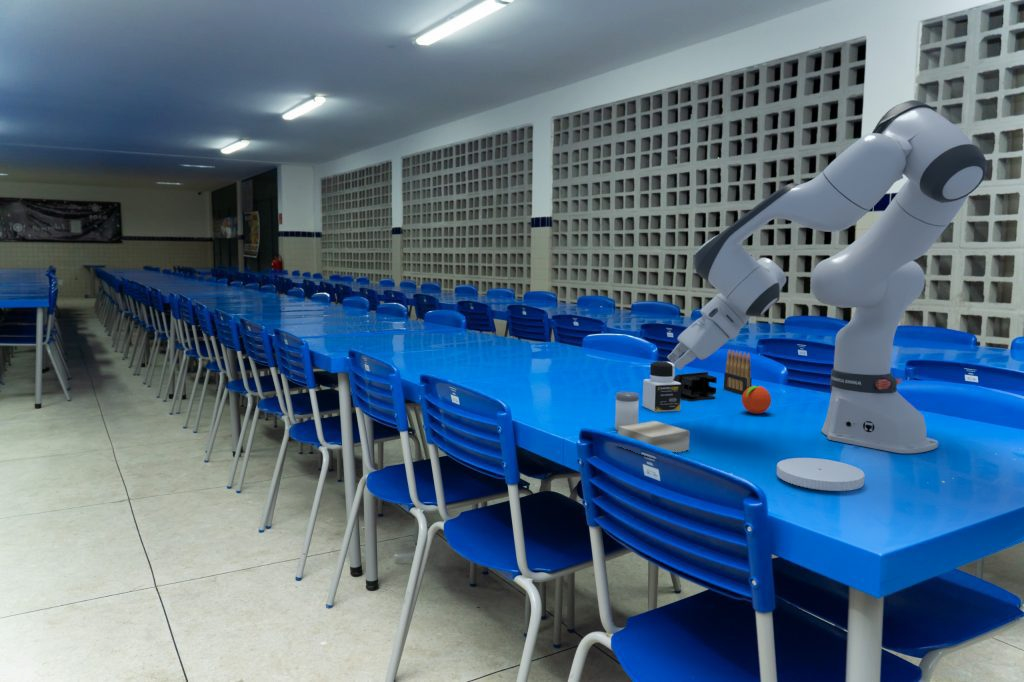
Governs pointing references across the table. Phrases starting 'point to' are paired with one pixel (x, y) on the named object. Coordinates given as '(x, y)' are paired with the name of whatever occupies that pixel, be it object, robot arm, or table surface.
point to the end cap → (696, 386)
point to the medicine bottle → (661, 388)
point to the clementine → (756, 399)
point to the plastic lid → (820, 474)
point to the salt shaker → (626, 409)
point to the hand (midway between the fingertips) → (672, 363)
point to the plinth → (658, 435)
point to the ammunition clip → (737, 372)
